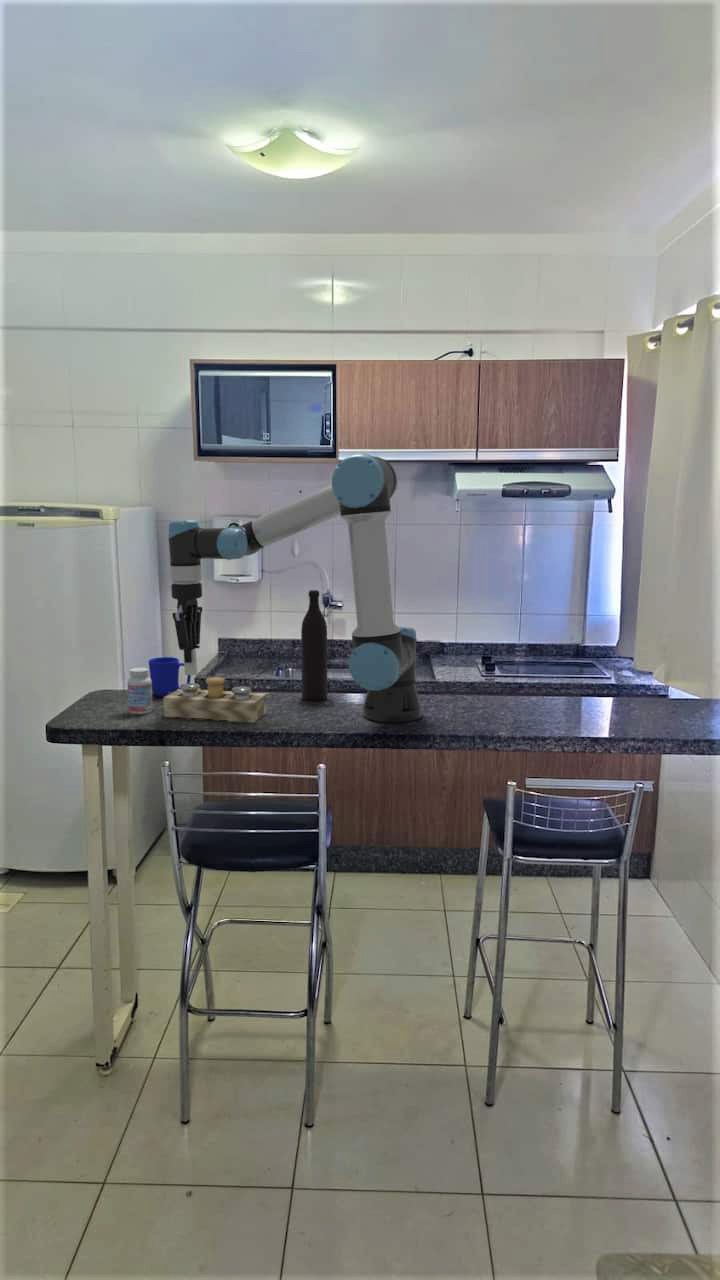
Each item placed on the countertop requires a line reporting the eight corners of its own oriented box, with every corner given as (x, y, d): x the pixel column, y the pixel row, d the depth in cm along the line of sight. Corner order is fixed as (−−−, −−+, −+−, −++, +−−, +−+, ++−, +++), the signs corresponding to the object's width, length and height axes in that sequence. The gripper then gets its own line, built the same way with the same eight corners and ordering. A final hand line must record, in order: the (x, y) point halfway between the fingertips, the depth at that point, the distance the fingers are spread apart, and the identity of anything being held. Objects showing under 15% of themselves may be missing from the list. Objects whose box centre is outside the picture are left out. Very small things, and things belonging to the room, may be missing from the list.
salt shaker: (203, 708, 208) (202, 683, 206) (195, 713, 203) (194, 688, 202) (186, 707, 209) (185, 682, 207) (178, 712, 204) (177, 687, 203)
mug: (185, 699, 219) (184, 664, 217) (144, 697, 221) (143, 662, 220) (197, 692, 227) (196, 658, 225) (158, 690, 229) (156, 656, 227)
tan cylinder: (228, 702, 206) (227, 677, 205) (221, 707, 201) (220, 682, 200) (210, 701, 207) (210, 676, 206) (203, 706, 202) (202, 680, 201)
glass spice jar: (254, 711, 205) (253, 686, 204) (247, 716, 200) (247, 691, 199) (236, 710, 206) (235, 685, 205) (229, 715, 201) (228, 690, 200)
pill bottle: (124, 714, 205) (122, 671, 203) (136, 708, 210) (134, 666, 208) (145, 715, 203) (143, 672, 201) (157, 709, 209) (155, 667, 207)
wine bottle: (328, 695, 225) (327, 589, 219) (326, 701, 218) (326, 592, 212) (303, 694, 225) (302, 589, 220) (300, 701, 218) (299, 592, 213)
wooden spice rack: (267, 712, 207) (266, 693, 206) (253, 722, 197) (253, 703, 196) (181, 706, 212) (180, 688, 211) (164, 716, 202) (163, 697, 201)
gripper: (183, 579, 207) (188, 668, 211) (160, 584, 194) (165, 679, 199) (210, 579, 205) (214, 669, 209) (189, 585, 193) (194, 680, 197)
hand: (190, 674), depth 204 cm, fingers closed
